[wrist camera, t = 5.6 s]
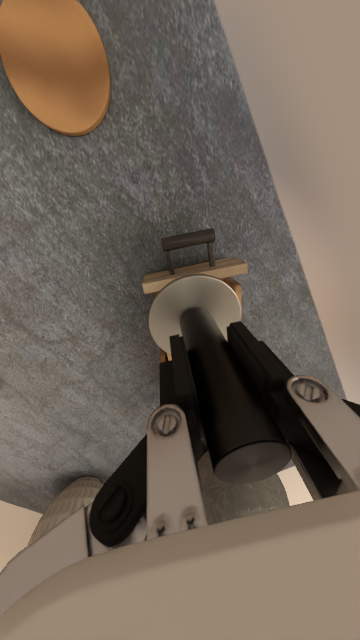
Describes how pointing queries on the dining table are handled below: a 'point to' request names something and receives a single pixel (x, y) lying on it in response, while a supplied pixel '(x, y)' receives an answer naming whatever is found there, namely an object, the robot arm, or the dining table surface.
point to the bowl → (239, 495)
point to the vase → (67, 503)
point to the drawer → (213, 267)
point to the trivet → (56, 63)
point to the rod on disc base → (220, 378)
